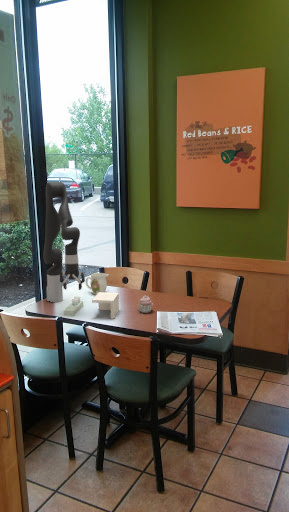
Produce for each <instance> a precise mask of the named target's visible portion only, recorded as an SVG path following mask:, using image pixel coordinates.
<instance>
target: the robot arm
mask: <svg viewBox="0 0 289 512" xmlns="http://www.w3.org/2000/svg"><path fill="white" fill-rule="evenodd" d="M54 198H56V199H57V198H58V199H59V198H60V200H61V202H60V206H59V208H58V210H57V209H56V207H55V204H54ZM45 206H46V207H45V209H46V210H45V224H44V225H45V226H44V227H45V234H44V235H45V237H44V247H43V255H42V256H43V261H44V263H45V264H46V265H52V266H51V267H49V268H48V269H47V270H46V277H47V278H46V282H47V286H46V302H49V301H50V303H59V302H62V301H64V296H63V295H64V293H63V289H64V290H67V281H68V280H76V282H77V283H78V291H81V290H82V289H83V285H82V284H84V283H86V277H85V272H84V271H82V272H80V271H79V256H78V246H79V240H80V236H81V231H80V229H79V228H78V227H76V226H75V227H72V225H73V223H74V221H73V218H72V214H71V211H70V206H69V199H68V193H67V188H66V185H65V184H64V182H61V181H49V182H46V185H45ZM70 226H71V227H70ZM59 234H60V237H61V238H62V239H63V241H71V242H70V243H67V244H65V245H64V259H63V252H62V249H60V248H53V245H54V242H55V240H56V239H57V237H58V235H59ZM63 260H64V267H65V268H64V269H65V271H63ZM64 276H65V278H64ZM80 277H81V278H80Z"/></svg>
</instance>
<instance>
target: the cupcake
mask: <svg viewBox="0 0 289 512" xmlns="http://www.w3.org/2000/svg"><path fill="white" fill-rule="evenodd" d="M153 305H154V303H153V302H152V300H151V298H150V297H149V296H148V295H143V296H142V297H141V298H139V301H138V303H137V306H138V309H139V312H140V313H142V314H148V313H151V310H152V308H153Z"/></svg>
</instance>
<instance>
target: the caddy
mask: <svg viewBox="0 0 289 512" xmlns="http://www.w3.org/2000/svg"><path fill="white" fill-rule="evenodd" d="M83 307H84V301H81V297H80V296H74V298H72V299H71V303H70V304H69V305H68V306H66V308H64V309H63V316H64V315H67V316H69V317H75V316H76V315H77V314H78V313H79V311H81V310H82V309H83Z"/></svg>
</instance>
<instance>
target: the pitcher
mask: <svg viewBox="0 0 289 512" xmlns="http://www.w3.org/2000/svg"><path fill="white" fill-rule="evenodd" d="M109 276H110V274H109V273H106V272H105V273H104V272H94V273H91V274H90V276H87V277H85V286H86V287H87V288H88V289H89V290H91V292H92V293H93V295H95V296H96V295H97V294H98V293H99V292H107V285H108V284H107V283H108V281H107V277H109ZM89 279H90V285H89V284H88V280H89Z"/></svg>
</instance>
